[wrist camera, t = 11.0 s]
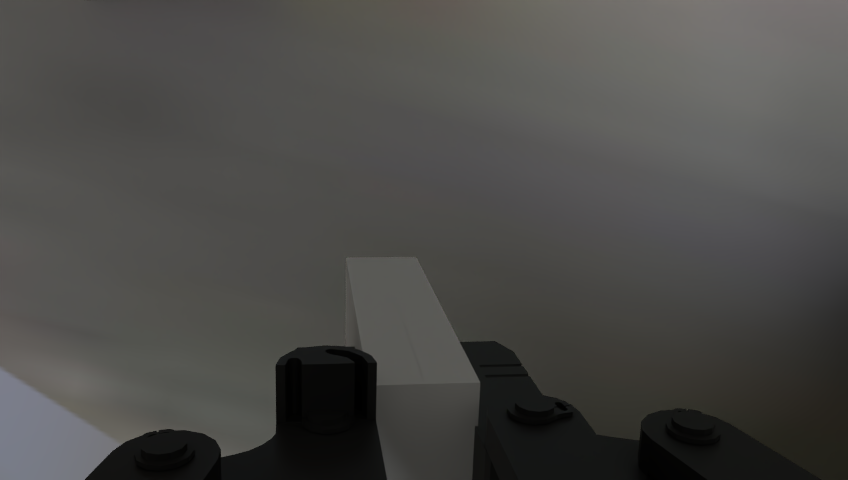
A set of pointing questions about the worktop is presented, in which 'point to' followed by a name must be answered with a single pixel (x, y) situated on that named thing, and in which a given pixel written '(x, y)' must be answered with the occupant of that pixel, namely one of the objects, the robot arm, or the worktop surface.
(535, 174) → the worktop surface
